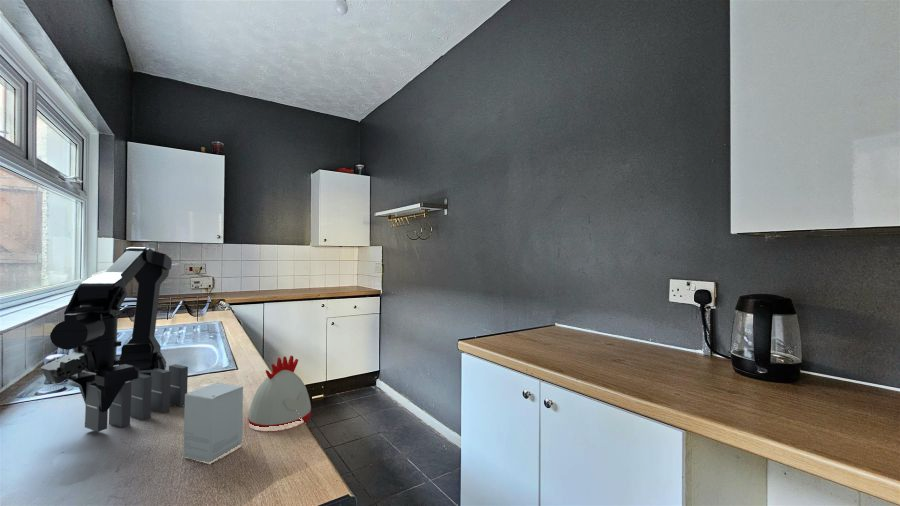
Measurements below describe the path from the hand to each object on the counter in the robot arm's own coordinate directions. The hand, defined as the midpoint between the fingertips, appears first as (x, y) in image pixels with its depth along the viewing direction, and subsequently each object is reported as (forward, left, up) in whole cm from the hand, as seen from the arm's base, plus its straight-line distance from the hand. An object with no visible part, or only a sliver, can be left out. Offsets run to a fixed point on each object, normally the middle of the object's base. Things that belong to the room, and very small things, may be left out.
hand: (97, 409), depth 81 cm
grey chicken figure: (-31, +21, -5) cm, 38 cm away
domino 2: (-4, -1, -5) cm, 7 cm away
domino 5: (-16, -6, -5) cm, 18 cm away
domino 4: (-12, -4, -5) cm, 14 cm away
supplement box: (-15, +27, -5) cm, 31 cm away
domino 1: (0, 0, -4) cm, 4 cm away
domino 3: (-8, -3, -5) cm, 10 cm away
